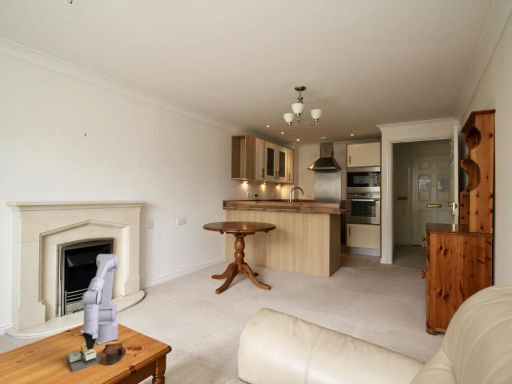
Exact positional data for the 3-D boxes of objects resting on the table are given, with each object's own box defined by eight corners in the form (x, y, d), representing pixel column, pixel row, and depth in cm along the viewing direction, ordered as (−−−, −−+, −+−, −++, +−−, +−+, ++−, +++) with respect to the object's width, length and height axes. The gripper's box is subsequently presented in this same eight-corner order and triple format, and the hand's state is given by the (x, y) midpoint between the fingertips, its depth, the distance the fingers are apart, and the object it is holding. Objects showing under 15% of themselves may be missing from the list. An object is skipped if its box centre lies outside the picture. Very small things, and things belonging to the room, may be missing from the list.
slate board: (93, 350, 135) (93, 347, 135) (101, 361, 125) (101, 358, 125) (65, 359, 127) (65, 356, 127) (71, 372, 117) (71, 369, 117)
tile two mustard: (90, 346, 133) (90, 341, 133) (92, 349, 130) (92, 344, 130) (80, 349, 130) (80, 343, 131) (82, 352, 128) (82, 347, 128)
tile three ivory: (93, 353, 127) (93, 348, 127) (96, 357, 124) (96, 351, 124) (83, 356, 124) (83, 351, 124) (85, 360, 122) (86, 355, 122)
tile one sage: (78, 355, 127) (78, 349, 127) (80, 359, 124) (80, 353, 124) (68, 358, 124) (68, 353, 124) (70, 362, 121) (70, 357, 121)
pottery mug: (95, 366, 123) (98, 345, 127) (110, 365, 131) (113, 345, 135) (117, 363, 120) (120, 341, 125) (132, 362, 128) (134, 342, 132)
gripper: (76, 315, 127) (75, 345, 127) (85, 326, 117) (84, 359, 116) (94, 311, 132) (93, 340, 132) (103, 321, 122) (102, 352, 121)
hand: (90, 348), depth 124 cm, fingers closed
